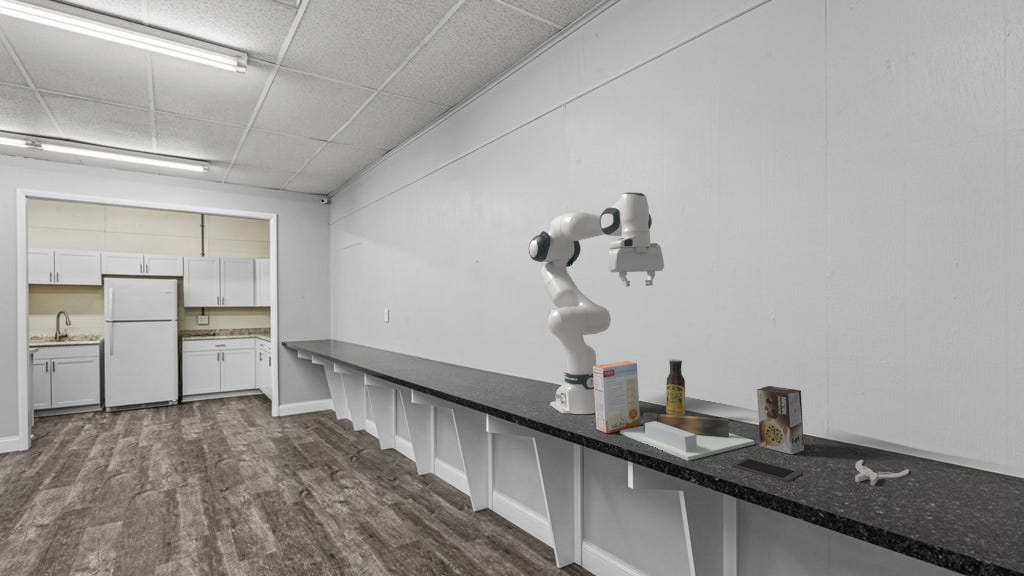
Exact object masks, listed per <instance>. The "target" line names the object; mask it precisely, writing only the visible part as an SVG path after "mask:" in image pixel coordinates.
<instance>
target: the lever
mask: <svg viewBox="0 0 1024 576" xmlns="http://www.w3.org/2000/svg"><path fill="white" fill-rule="evenodd" d="M642 416H643V417H642V419H643V420H642V421H643V422H642V423H643V426H644V430H645V423H648V422H653V421H656V422H659V423H662V424H665V425H668V426H671V427H675V428H678V429H681V430H684V431H687V432H690V433H693V434H704V435H716V436H728V437H729V433H730V428H729V427H730V426H729V418H724V417H711V416H710V417H709V416H695V415H685V416H682V415H667V413H666V414H665V413H659V414H658V413H656V412H643V413H642Z"/></svg>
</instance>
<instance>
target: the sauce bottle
mask: <svg viewBox="0 0 1024 576" xmlns="http://www.w3.org/2000/svg"><path fill="white" fill-rule="evenodd" d="M682 364H683V362H682V359H669V374H668V376H667V378H666V385H665V396H666V397H665V401H666V402H665V412H666V414H667V415H682V416H686V380H685V378H684V376H683V373H682Z"/></svg>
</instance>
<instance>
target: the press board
mask: <svg viewBox="0 0 1024 576" xmlns="http://www.w3.org/2000/svg"><path fill="white" fill-rule="evenodd" d="M619 434H621V435H622V436H625V437H628V438H629V439H631V440H635V441H638V442H639V443H643V444H646V445H647V444H648V445H647V446H650V447H652V446H653V448H655V447H656V448H655V449H657V448H658V450H660V451H662V450H663V452H665V453H668V454H670V455H673V456H676V457H678V458H680V459H683V460H684V461H687V462H690V461H692V460H696V459H701V458H705V457H708V456H713V455H716V454H721V453H725V452H728V451H733V450H737V449H741V448H745V447H749V446H753V445H755V439H754V440H753V439H750V438H747V437H744V436H740V435H737V434H734V433H730V432H729V437H728V436H716V435H704V434H693V433H690V432H687V431H684V430H681V429H678V428H675V427H671V426H668V425H665V424H662V423H659V422H656V421H653V422H648V423H645V430H644V425H642V426H641V425H640V426H639V427H634V428H630V429H625V430H620V431H619Z"/></svg>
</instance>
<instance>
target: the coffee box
mask: <svg viewBox="0 0 1024 576" xmlns="http://www.w3.org/2000/svg"><path fill="white" fill-rule="evenodd" d="M756 394H757V395H756V398H757V412H758V413H757V414H758V415H757V416H758V429H759V430H758V431H759V447H761V448H765V449H769V450H772V451H777V452H781V453H785V454H789V455H794V454H797V453H800V452H803V451H804V450H805V447H804V446H805V444H804V443H805V442H804V441H805V439H804V424H803V407H802V406H803V405H802V389H801V390H800V389H793V388H788V387H782V386H781V387H779V386H775V385H774V386H773V385H767V386H764V387H761V388H757V389H756Z"/></svg>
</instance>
